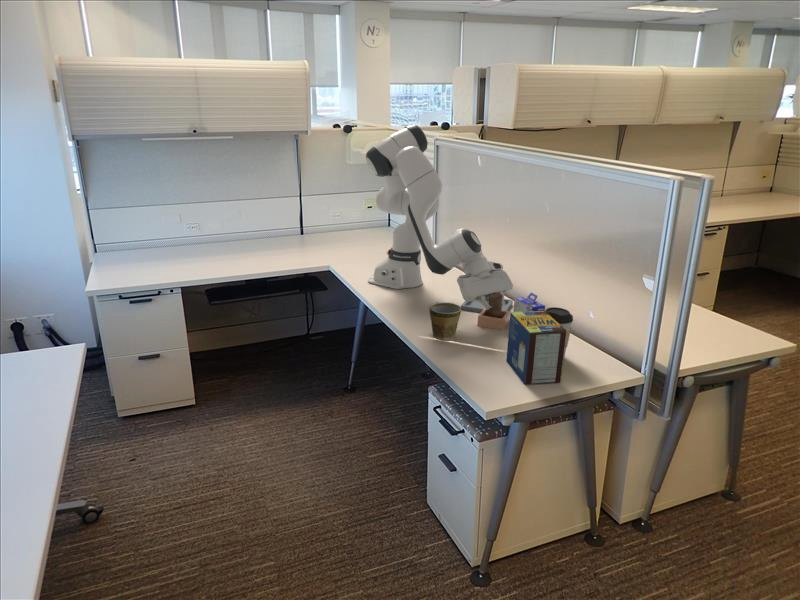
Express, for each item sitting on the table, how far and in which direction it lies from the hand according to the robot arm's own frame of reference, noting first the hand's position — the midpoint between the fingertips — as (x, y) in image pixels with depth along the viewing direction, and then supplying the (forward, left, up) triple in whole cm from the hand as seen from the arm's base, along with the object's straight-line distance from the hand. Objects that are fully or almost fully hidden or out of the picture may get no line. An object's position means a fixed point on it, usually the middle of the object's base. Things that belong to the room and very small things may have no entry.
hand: (496, 307), depth 191 cm
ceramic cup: (-14, -15, -7) cm, 22 cm away
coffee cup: (+21, -18, -7) cm, 29 cm away
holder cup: (-1, 0, -6) cm, 6 cm away
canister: (-1, 0, -6) cm, 6 cm away
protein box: (+17, -30, -7) cm, 35 cm away
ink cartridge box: (+11, -6, -7) cm, 14 cm away
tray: (-7, +15, -6) cm, 18 cm away
